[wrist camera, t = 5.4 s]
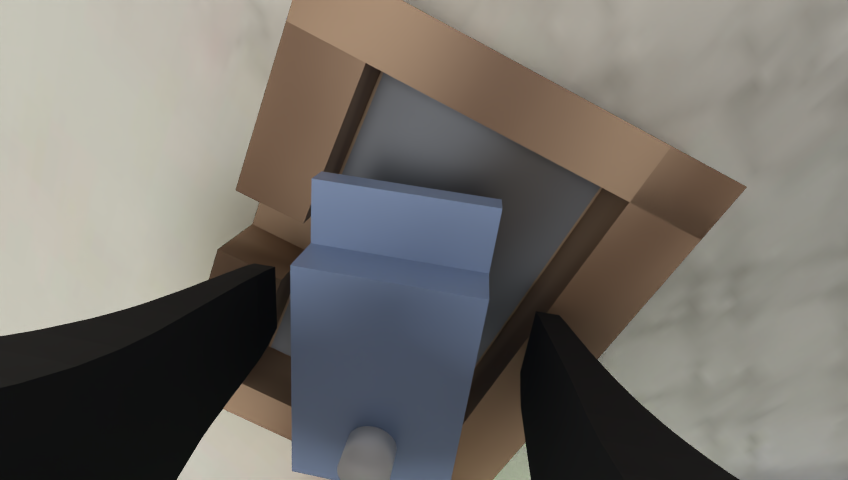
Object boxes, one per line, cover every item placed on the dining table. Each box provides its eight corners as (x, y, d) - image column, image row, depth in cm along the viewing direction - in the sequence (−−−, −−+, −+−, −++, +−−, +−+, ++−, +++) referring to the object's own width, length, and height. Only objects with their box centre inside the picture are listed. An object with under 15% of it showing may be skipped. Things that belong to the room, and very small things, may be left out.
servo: (498, 163, 12) (506, 247, 7) (452, 401, 16) (434, 574, 11) (361, 143, 13) (269, 208, 7) (347, 381, 16) (279, 539, 11)
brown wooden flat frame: (690, 157, 13) (747, 186, 10) (463, 448, 18) (459, 518, 16) (349, -27, 12) (307, -51, 9) (224, 335, 18) (176, 387, 15)
